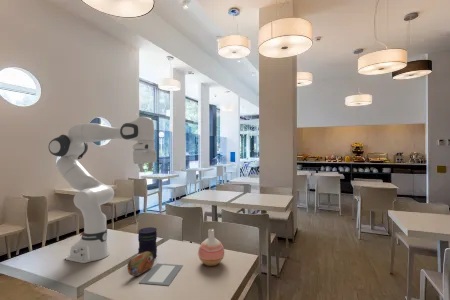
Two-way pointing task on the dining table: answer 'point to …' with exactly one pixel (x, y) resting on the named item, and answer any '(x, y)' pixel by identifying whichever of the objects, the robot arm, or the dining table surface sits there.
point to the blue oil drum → (147, 240)
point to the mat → (161, 274)
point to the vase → (211, 250)
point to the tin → (140, 263)
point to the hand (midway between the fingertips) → (146, 171)
